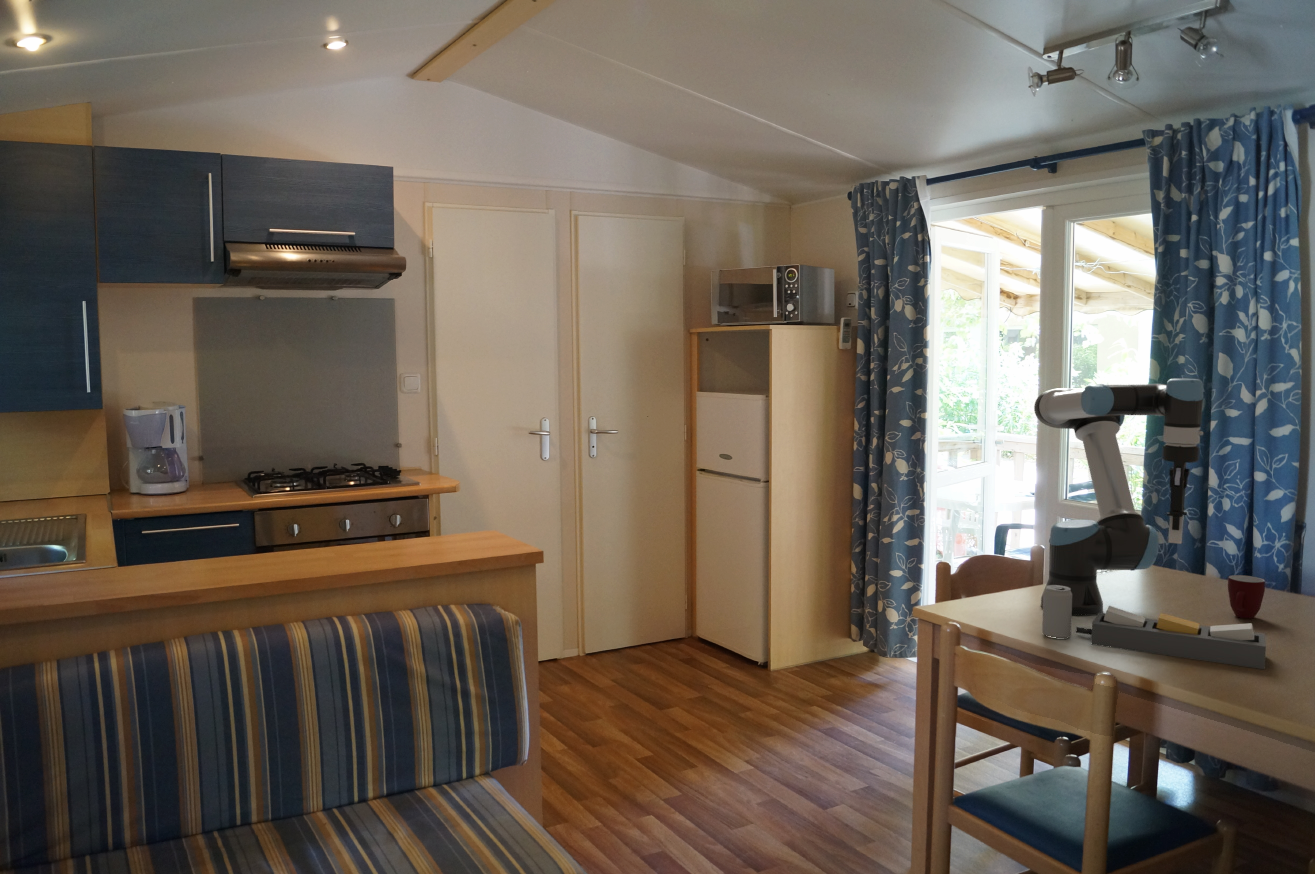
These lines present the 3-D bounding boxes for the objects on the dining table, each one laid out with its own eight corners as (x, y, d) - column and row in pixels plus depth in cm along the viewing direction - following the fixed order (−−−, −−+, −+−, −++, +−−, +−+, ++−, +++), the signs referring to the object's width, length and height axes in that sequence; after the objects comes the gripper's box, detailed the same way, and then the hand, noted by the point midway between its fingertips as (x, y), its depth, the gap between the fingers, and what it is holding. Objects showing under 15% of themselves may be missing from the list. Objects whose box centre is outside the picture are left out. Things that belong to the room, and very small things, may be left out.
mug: (1260, 625, 233) (1262, 585, 233) (1222, 619, 238) (1224, 581, 238) (1264, 616, 242) (1266, 578, 241) (1228, 611, 247) (1230, 573, 246)
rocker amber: (1156, 627, 214) (1158, 617, 213) (1158, 622, 218) (1160, 612, 217) (1195, 639, 210) (1198, 629, 209) (1196, 633, 214) (1199, 623, 213)
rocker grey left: (1103, 619, 220) (1106, 610, 219) (1106, 614, 224) (1109, 605, 223) (1140, 632, 216) (1143, 622, 215) (1142, 627, 220) (1145, 617, 219)
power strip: (1072, 641, 221) (1073, 620, 220) (1079, 630, 230) (1080, 610, 230) (1264, 669, 200) (1265, 646, 200) (1264, 655, 210) (1265, 633, 209)
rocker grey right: (1212, 642, 208) (1209, 631, 208) (1213, 636, 212) (1210, 625, 212) (1254, 639, 204) (1251, 628, 204) (1254, 633, 208) (1251, 623, 208)
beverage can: (1058, 641, 221) (1060, 591, 220) (1036, 634, 226) (1037, 585, 225) (1076, 638, 224) (1078, 588, 223) (1054, 631, 229) (1055, 583, 228)
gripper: (1197, 448, 213) (1191, 550, 216) (1201, 442, 224) (1194, 539, 227) (1160, 446, 217) (1154, 546, 220) (1165, 440, 228) (1159, 535, 231)
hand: (1175, 542), depth 223 cm, fingers closed
